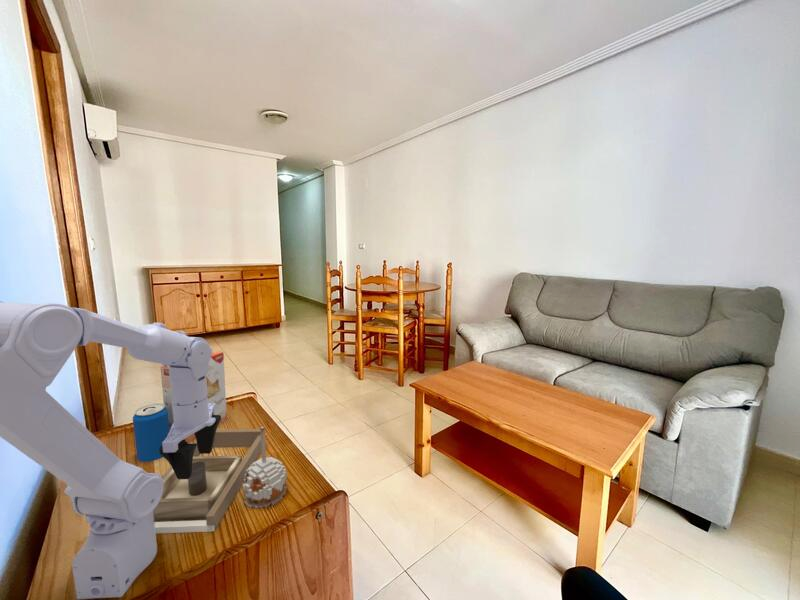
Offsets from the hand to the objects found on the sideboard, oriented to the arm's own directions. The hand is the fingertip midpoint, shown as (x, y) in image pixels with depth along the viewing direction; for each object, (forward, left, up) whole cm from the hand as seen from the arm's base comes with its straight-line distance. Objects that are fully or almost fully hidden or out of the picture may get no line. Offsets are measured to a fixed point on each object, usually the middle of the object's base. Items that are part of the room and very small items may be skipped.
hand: (195, 464), depth 65 cm
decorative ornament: (0, -13, -7) cm, 15 cm away
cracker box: (+24, +12, -7) cm, 28 cm away
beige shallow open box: (0, 0, -6) cm, 6 cm away
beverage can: (+14, +17, -7) cm, 23 cm away
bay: (+4, 0, -7) cm, 8 cm away
